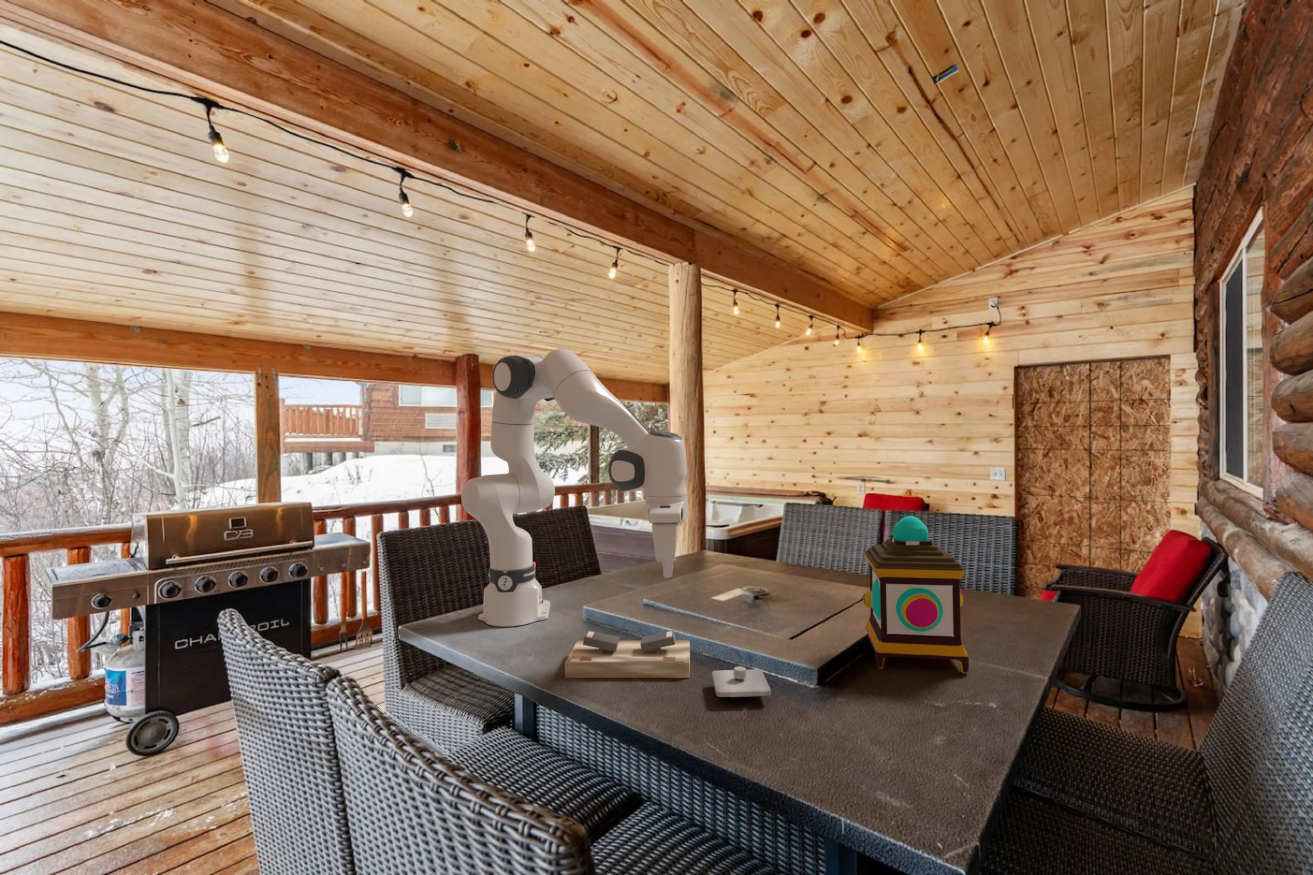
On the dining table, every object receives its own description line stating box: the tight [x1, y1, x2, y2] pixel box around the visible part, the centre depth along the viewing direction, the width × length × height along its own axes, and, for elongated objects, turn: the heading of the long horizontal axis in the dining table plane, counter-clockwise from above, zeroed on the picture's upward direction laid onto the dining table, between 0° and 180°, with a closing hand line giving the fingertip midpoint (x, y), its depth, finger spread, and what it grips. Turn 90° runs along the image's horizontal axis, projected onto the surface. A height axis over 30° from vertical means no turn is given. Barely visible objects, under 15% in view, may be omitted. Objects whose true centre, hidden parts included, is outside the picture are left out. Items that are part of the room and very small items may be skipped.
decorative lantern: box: [862, 515, 970, 674], centre depth 128 cm, size 20×20×30 cm
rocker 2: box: [640, 630, 677, 652], centre depth 127 cm, size 4×7×2 cm, turn 86°
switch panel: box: [564, 639, 691, 679], centre depth 127 cm, size 13×25×4 cm, turn 86°
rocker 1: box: [583, 630, 620, 652], centre depth 127 cm, size 4×7×2 cm, turn 86°
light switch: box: [711, 665, 772, 698], centre depth 112 cm, size 10×10×5 cm
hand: (668, 574), depth 126 cm, fingers open, 3 cm apart
